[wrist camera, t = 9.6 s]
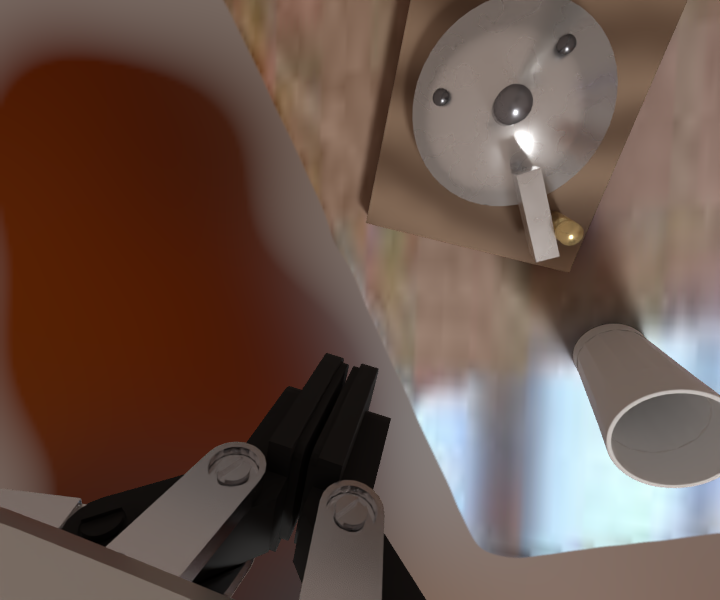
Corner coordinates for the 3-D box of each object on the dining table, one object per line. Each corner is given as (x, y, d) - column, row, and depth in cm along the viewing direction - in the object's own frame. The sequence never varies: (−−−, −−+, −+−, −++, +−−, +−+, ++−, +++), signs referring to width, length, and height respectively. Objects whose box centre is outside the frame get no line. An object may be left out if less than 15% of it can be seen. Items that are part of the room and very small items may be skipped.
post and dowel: (484, 105, 30) (489, 96, 25) (514, 86, 29) (526, 72, 24) (546, 234, 32) (562, 250, 27) (576, 220, 31) (598, 233, 26)
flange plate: (391, 53, 30) (381, 38, 26) (591, -42, 26) (616, -79, 21) (454, 268, 35) (453, 283, 31) (631, 219, 30) (658, 230, 26)
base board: (430, -74, 28) (428, -90, 27) (693, -40, 26) (711, -55, 24) (370, 219, 37) (366, 222, 35) (563, 266, 35) (568, 272, 33)
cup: (566, 315, 36) (613, 386, 25) (666, 314, 34) (763, 392, 23) (560, 389, 39) (600, 482, 28) (652, 392, 37) (734, 494, 26)
